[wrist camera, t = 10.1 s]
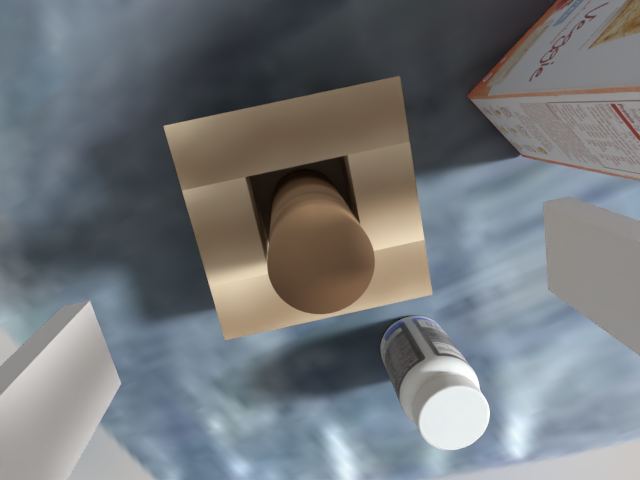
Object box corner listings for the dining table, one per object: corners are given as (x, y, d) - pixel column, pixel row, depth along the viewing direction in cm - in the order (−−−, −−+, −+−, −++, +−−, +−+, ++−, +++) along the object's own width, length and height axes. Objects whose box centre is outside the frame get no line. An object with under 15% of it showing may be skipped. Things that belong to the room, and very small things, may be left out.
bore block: (183, 122, 28) (163, 125, 24) (380, 80, 29) (399, 75, 24) (233, 304, 32) (225, 340, 27) (409, 266, 32) (432, 294, 27)
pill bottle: (390, 383, 34) (424, 468, 26) (370, 327, 33) (399, 399, 25) (453, 361, 34) (506, 439, 26) (435, 304, 33) (486, 368, 25)
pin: (265, 176, 29) (255, 224, 17) (331, 162, 29) (365, 201, 17) (280, 239, 30) (280, 324, 18) (343, 225, 30) (382, 301, 18)
